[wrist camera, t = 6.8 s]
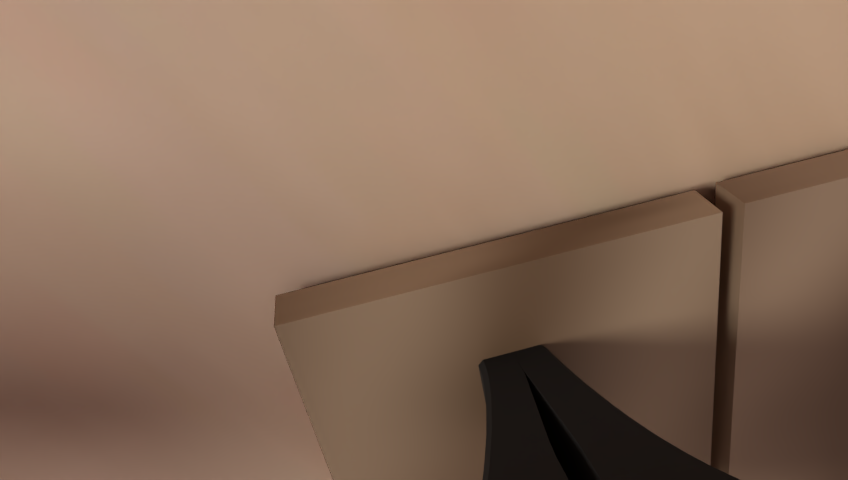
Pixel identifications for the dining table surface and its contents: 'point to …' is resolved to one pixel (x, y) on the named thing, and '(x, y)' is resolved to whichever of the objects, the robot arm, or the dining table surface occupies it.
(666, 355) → the plank
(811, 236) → the plank
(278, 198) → the dining table surface
